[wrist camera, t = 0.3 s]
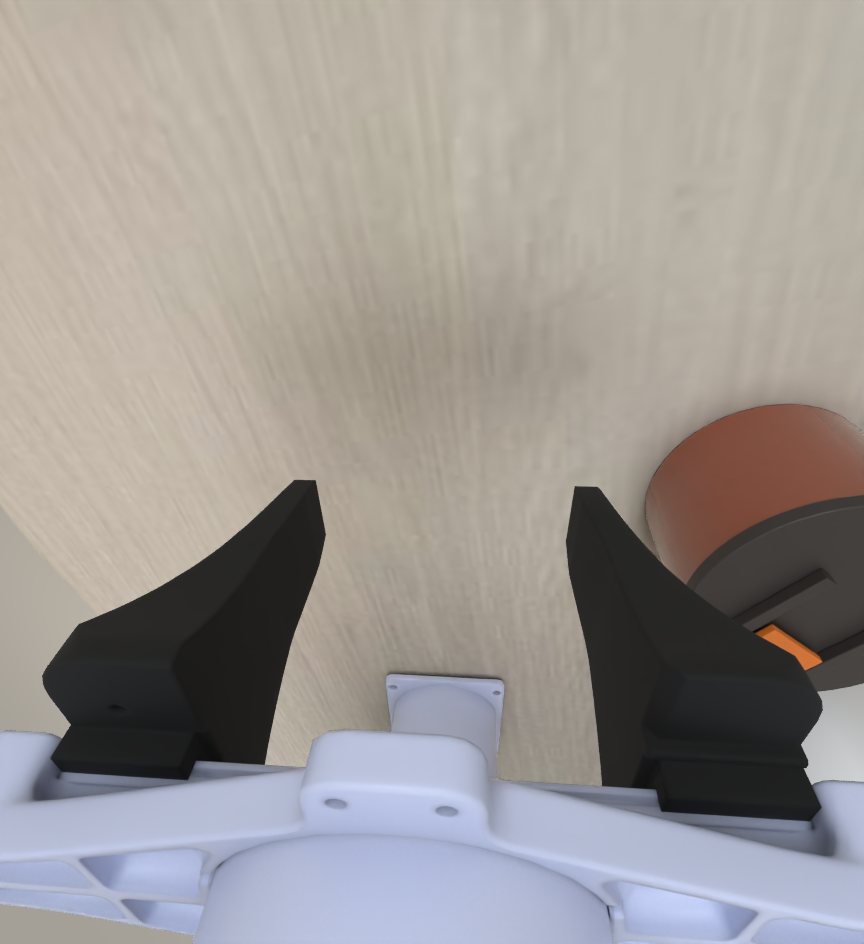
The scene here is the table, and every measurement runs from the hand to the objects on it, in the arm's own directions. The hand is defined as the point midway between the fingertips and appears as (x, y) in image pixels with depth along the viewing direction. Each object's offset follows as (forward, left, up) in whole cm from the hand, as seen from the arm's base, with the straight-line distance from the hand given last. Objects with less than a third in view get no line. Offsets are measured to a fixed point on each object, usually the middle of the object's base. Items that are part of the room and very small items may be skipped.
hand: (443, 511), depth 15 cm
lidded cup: (-7, -14, -10) cm, 19 cm away
